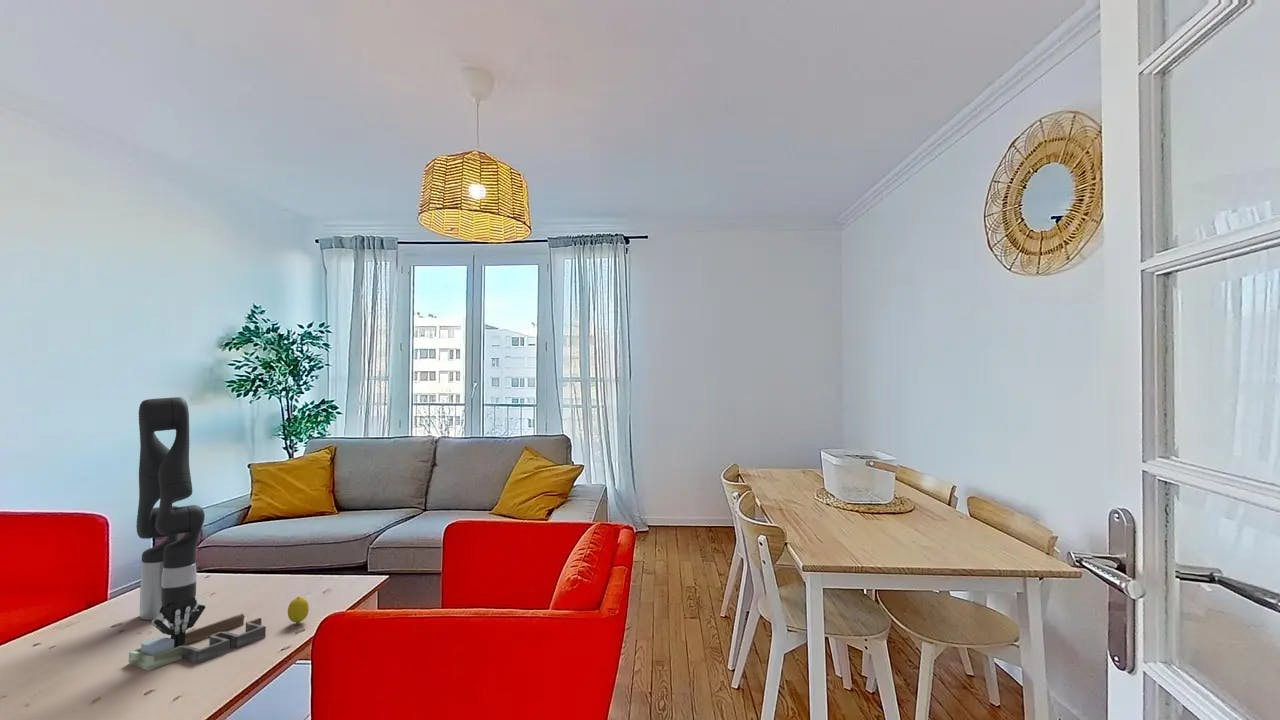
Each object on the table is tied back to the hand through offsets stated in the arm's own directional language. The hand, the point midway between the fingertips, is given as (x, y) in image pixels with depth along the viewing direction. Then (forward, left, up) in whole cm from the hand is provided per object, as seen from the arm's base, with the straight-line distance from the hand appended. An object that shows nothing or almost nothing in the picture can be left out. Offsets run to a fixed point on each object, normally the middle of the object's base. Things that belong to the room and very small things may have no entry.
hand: (177, 647), depth 165 cm
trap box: (+3, +6, -2) cm, 7 cm away
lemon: (+11, +27, -2) cm, 29 cm away
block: (0, -5, -2) cm, 5 cm away
